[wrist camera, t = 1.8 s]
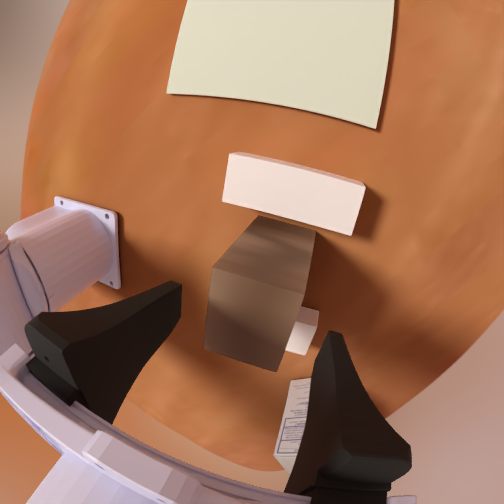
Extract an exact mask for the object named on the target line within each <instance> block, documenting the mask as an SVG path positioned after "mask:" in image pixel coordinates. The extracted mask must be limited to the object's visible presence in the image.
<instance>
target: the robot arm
mask: <svg viewBox="0 0 504 504" xmlns="http://www.w3.org/2000/svg"><path fill="white" fill-rule="evenodd" d="M54 202H55V206H53V207H51V208H48V209H46V210H44V211H41V212H39V213H36V214H34V215H32V216H30V217H27V218H25V219H23V220H21V221H18V222H17V223H15V224H13V225H12V226H11V227H10V228H9V229H8V230H7V232H6V233H3V232H1V231H0V392H1V393H2V394H3V396H4V397H5V398H6V400H7V401H8V402H9V403H10V404H11V406H12V407H13V408H14V409H15V410H16V411H17V412H18V413H19V414H20V415H21V416H22V417H23V418H24V420H26V422H27V423H28V424H29V425H31V427H32V428H33V429H34V430H35V431H36V432H37V433H38V434H39V435H41V436H42V437H43V438H44V439H45V440H46V441H47V442H48V443H49V444H50V445H51V446H53V447H54V448H55V449H56V450H57V451H59V452H60V453H61V454H62V456H61V458H60V459H59V460H58V461H57V463H56V464H55V465H54V467H53V468H52V469H51V471H50V472H49V473H48V475H47V476H46V477H45V479H44V480H43V481H42V483H41V484H40V485H39V487H38V488H37V489H36V491H35V492H34V493H33V495H32V496H31V497H30V499H29V500H28V501H27V503H26V504H416V495H405V496H392V497H388V498H387V492H388V491H390V490H391V482H393V481H395V480H396V479H398V478H400V477H401V476H403V475H405V474H406V473H407V472H408V471H409V470H410V469H411V467H412V457H411V447H410V445H409V444H408V443H407V442H406V441H405V440H404V439H403V438H402V437H401V436H400V435H399V434H398V433H397V432H395V430H394V429H393V428H392V427H391V426H390V425H389V424H388V422H387V421H386V420H385V419H384V417H383V416H382V415H381V413H380V412H379V411H378V409H377V408H376V407H375V405H374V404H373V402H372V400H371V399H370V397H369V395H368V394H367V392H366V390H365V388H364V387H363V385H362V383H361V380H360V378H359V376H358V374H357V372H356V370H355V367H354V365H353V362H352V360H351V357H350V355H349V352H348V349H347V346H346V344H345V341H344V338H343V335H342V334H341V333H337V332H334V331H330V330H329V332H328V334H327V336H326V339H325V341H324V343H323V345H322V347H321V349H320V351H319V353H318V355H317V357H316V359H315V363H314V367H313V372H312V376H311V383H310V392H309V401H308V410H307V418H306V423H305V428H304V432H303V436H302V439H301V443H300V446H299V450H298V453H297V456H296V460H295V463H294V466H293V469H292V471H291V474H290V477H289V480H288V483H287V485H286V488H285V490H284V492H279V491H274V490H270V489H265V488H261V487H257V486H253V485H250V484H246V483H242V482H239V481H236V480H232V479H229V478H226V477H223V476H220V475H217V474H214V473H211V472H209V471H205V470H203V469H200V468H198V467H195V466H193V465H190V464H188V463H185V462H182V461H181V460H178V459H176V458H174V457H172V456H169V455H167V454H165V453H163V452H160V451H158V450H157V449H155V448H153V447H151V446H149V445H147V444H145V443H143V442H141V441H139V440H137V439H135V438H134V437H132V436H130V435H128V434H126V433H125V432H123V431H121V430H119V429H118V428H116V427H114V426H113V425H112V424H113V421H114V419H115V417H116V415H117V413H118V411H119V408H120V407H121V405H122V403H123V401H124V399H125V397H126V395H127V393H128V392H129V390H130V388H131V386H132V385H133V383H134V381H135V380H136V378H137V376H138V375H139V373H140V372H141V370H142V368H143V367H144V366H145V364H146V363H147V362H148V360H149V359H150V358H151V357H152V355H153V354H154V353H155V352H156V351H157V349H158V348H159V347H160V346H161V345H162V343H163V342H164V341H165V340H166V338H167V337H168V336H169V335H170V333H171V332H172V330H173V329H174V327H175V326H176V324H177V322H178V321H179V319H180V317H181V295H182V284H179V283H176V282H173V281H169V282H166V283H164V284H162V285H159V286H157V287H155V288H152V289H150V290H148V291H145V292H143V293H140V294H138V295H136V296H133V297H130V298H127V299H125V300H122V301H119V302H116V303H113V304H109V305H105V306H101V307H97V308H91V309H86V310H79V311H69V312H57V311H59V310H60V309H61V308H63V307H64V306H65V305H66V304H68V303H69V302H70V301H72V300H73V299H74V298H75V297H77V296H78V295H79V294H81V293H82V292H83V291H85V290H86V289H87V288H89V287H90V286H91V285H93V284H94V283H96V282H97V281H100V282H102V283H104V284H106V285H108V286H110V287H112V288H115V289H119V288H120V287H121V279H120V266H119V250H118V218H117V214H116V213H115V212H114V211H111V210H107V209H104V208H100V207H97V206H93V205H90V204H86V203H82V202H79V201H75V200H72V199H68V198H65V197H61V196H56V197H55V199H54ZM108 215H109V217H108Z"/></svg>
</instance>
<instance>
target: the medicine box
mask: <svg viewBox="0 0 504 504" xmlns="http://www.w3.org/2000/svg"><path fill="white" fill-rule="evenodd" d="M310 383H311V378H305V379H298V380H292V381H291V382H290V387H289V392H288V397H287V401H286V406H285V410H284V414H283V418H282V423H281V427H280V431H279V435H278V439H277V443H276V447H275V451H274V457H275V458H276V459H277V460H278V462H279V463H280V464H281V465H282V466H283V468H284V469H285V470H286V471H287V472H288V473H289V475H290V474H291V471H292V469H293V466H294V463H295V460H296V456H297V453H298V450H299V446H300V443H301V439H302V436H303V432H304V428H305V423H306V418H307V410H308V401H309V392H310Z"/></svg>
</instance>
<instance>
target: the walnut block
mask: <svg viewBox="0 0 504 504" xmlns="http://www.w3.org/2000/svg"><path fill="white" fill-rule="evenodd" d="M315 235H316V231H314V230H311V229H307V228H304V227H300V226H296V225H293V224H289V223H285V222H282V221H278V220H274V219H270V218H266V217H263V216H259V215H258V217H257V218H256V219H255V220H254V221H253V222H252V223H251V224H250V225H249V227H248V228H247V229H246V230H245V231H244V232H243V233H242V234H241V235H240V237H239V238H238V239H237V240H236V241H235V242H234V243H233V244H232V245H231V247H230V248H229V249H228V250H227V251H226V252H225V253H224V254H223V256H222V257H221V258H220V259H219V260H218V261H217V262H216V263H215V265H214V266H213V267H212V272H211V281H210V289H209V298H208V308H207V317H206V327H205V337H204V349H207V350H210V351H212V352H215V353H218V354H221V355H224V356H227V357H229V358H232V359H235V360H238V361H241V362H244V363H247V364H251V365H254V366H257V367H260V368H263V369H267V370H270V371H273V372H277V370H278V367H279V365H280V362H281V360H282V357H283V354H284V352H285V349H286V346H287V344H288V341H289V338H290V335H291V333H292V330H293V327H294V324H295V321H296V319H297V316H298V313H299V310H300V307H301V304H302V301H303V298H304V295H305V291H306V286H307V280H308V275H309V270H310V264H311V259H312V253H313V247H314V241H315Z"/></svg>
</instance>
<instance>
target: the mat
mask: <svg viewBox="0 0 504 504" xmlns="http://www.w3.org/2000/svg"><path fill="white" fill-rule="evenodd" d="M393 12H394V0H188V1H187V5H186V8H185V12H184V15H183V19H182V23H181V27H180V31H179V35H178V39H177V43H176V48H175V52H174V57H173V61H172V66H171V71H170V76H169V82H168V87H167V94H184V95H201V96H214V97H225V98H234V99H242V100H250V101H257V102H263V103H269V104H275V105H281V106H286V107H291V108H296V109H301V110H306V111H310V112H315V113H319V114H323V115H327V116H331V117H335V118H339V119H342V120H346V121H350V122H353V123H357V124H360V125H363V126H366V127H370V128H373V129H376V126H377V121H378V116H379V111H380V106H381V101H382V95H383V90H384V84H385V78H386V72H387V65H388V58H389V51H390V42H391V34H392V24H393Z"/></svg>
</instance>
